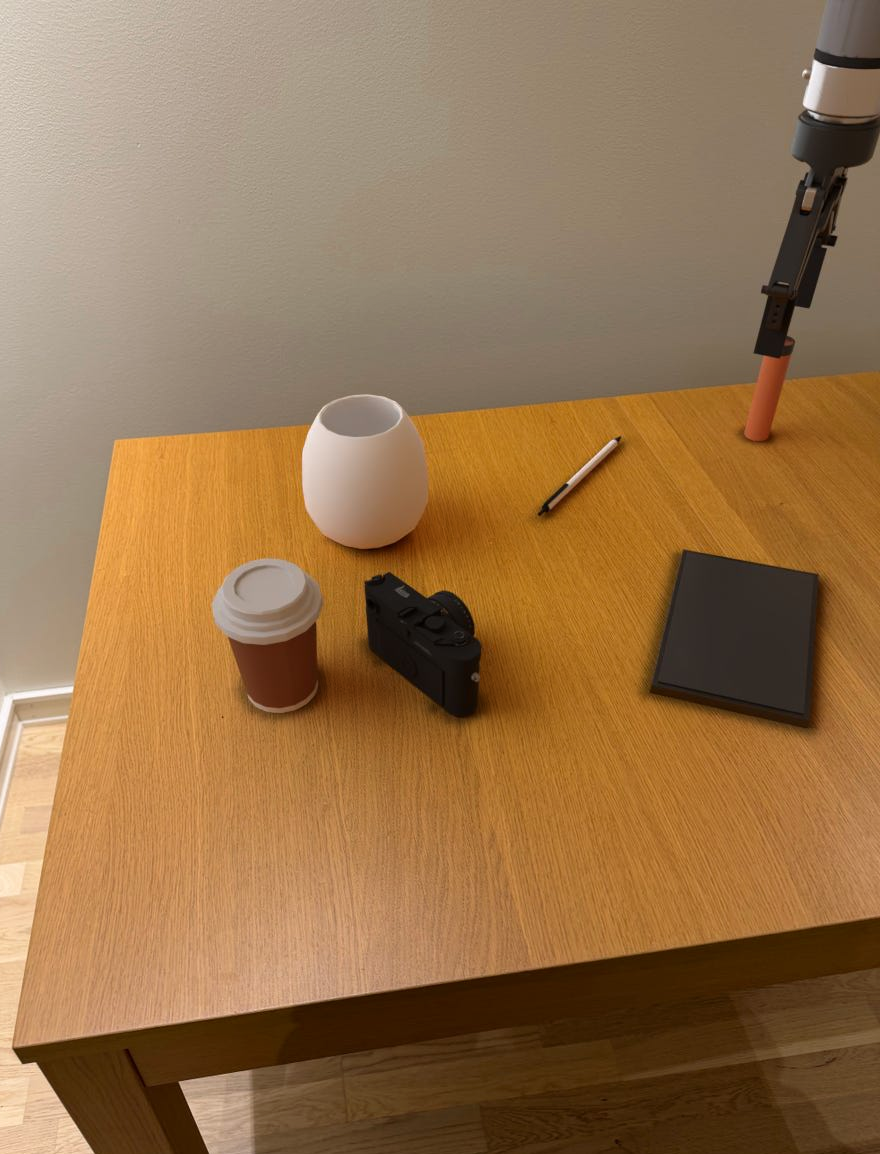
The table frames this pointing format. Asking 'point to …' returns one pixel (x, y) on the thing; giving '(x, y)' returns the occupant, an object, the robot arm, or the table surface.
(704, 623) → the plate
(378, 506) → the white vase
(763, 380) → the orange cylinder
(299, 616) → the coffee cup
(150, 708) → the table surface
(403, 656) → the camera
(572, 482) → the pen
